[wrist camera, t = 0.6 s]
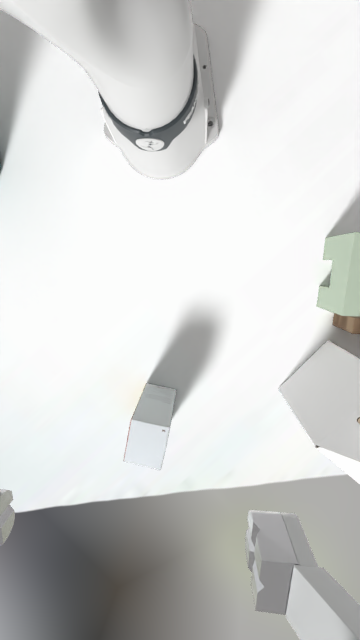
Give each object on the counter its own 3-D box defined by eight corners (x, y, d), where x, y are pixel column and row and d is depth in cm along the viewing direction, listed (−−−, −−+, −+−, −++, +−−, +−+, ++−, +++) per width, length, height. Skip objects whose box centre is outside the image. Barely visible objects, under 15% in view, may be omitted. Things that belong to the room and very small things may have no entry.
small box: (146, 382, 55) (130, 418, 42) (177, 388, 55) (171, 427, 42) (139, 418, 57) (122, 462, 44) (169, 424, 56) (161, 471, 44)
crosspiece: (325, 237, 47) (355, 232, 39) (340, 238, 47) (373, 232, 38) (316, 306, 50) (342, 315, 41) (330, 307, 50) (359, 316, 41)
